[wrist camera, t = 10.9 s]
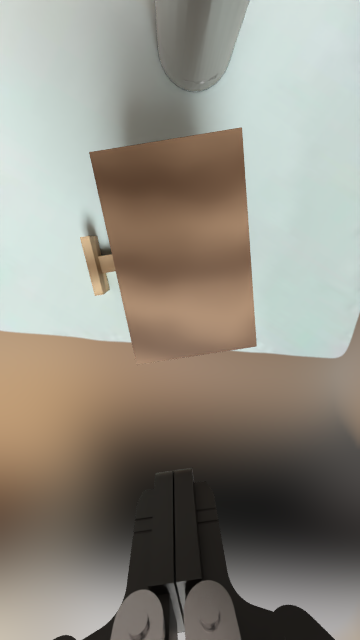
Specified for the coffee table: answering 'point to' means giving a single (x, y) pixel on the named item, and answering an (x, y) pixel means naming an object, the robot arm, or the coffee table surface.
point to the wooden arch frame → (180, 243)
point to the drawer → (97, 264)
